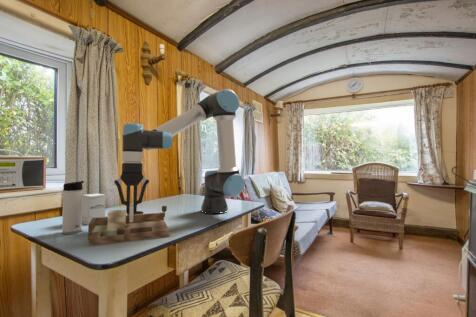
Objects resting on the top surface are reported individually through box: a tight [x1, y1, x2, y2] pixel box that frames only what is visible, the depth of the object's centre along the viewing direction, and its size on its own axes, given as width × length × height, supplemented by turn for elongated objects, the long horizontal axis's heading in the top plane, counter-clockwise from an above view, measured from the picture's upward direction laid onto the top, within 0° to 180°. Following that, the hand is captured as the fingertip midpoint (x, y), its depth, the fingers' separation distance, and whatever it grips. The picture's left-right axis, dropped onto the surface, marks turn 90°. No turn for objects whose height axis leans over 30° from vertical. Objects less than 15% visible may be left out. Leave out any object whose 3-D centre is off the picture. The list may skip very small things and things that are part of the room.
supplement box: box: [82, 193, 106, 226], centre depth 107 cm, size 7×7×13 cm
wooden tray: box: [87, 212, 170, 247], centre depth 92 cm, size 27×17×6 cm, turn 115°
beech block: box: [107, 209, 127, 230], centre depth 92 cm, size 6×6×6 cm
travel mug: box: [61, 180, 85, 236], centre depth 93 cm, size 6×7×20 cm
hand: (131, 221), depth 94 cm, fingers closed
